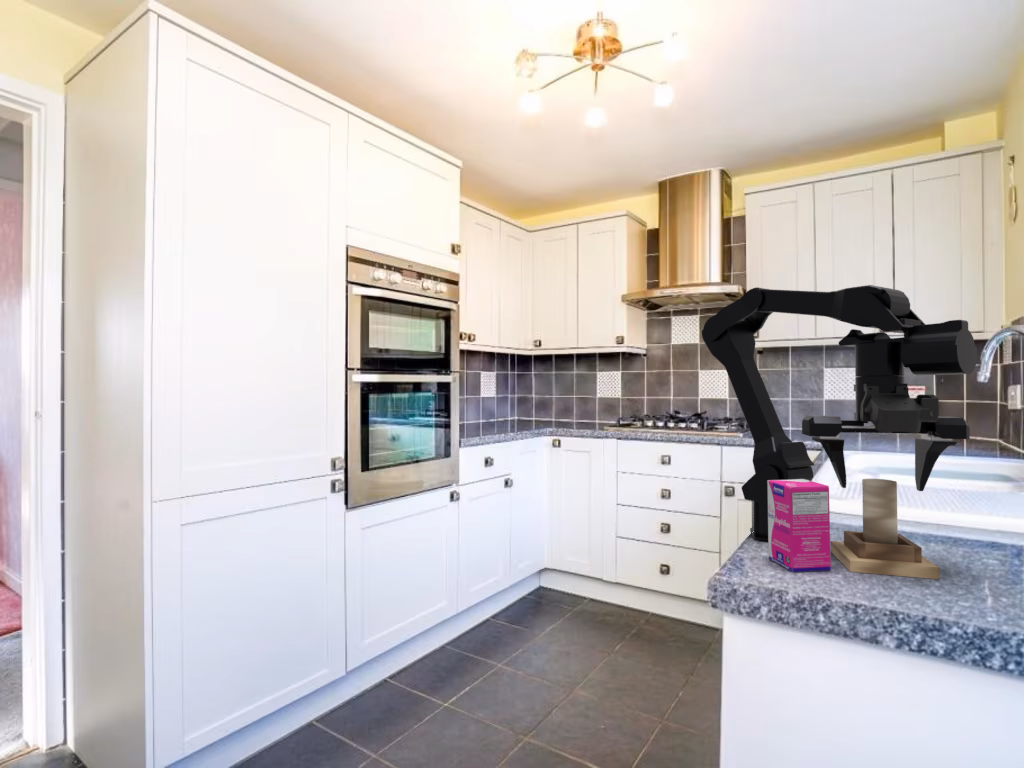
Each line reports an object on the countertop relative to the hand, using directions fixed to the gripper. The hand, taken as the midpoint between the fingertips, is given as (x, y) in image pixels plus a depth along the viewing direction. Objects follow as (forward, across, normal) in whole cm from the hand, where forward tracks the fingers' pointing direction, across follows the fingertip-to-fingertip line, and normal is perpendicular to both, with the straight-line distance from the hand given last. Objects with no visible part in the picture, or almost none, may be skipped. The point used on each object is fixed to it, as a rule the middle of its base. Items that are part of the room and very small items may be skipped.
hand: (881, 489), depth 77 cm
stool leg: (+9, 0, 0) cm, 9 cm away
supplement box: (+11, -11, -4) cm, 16 cm away
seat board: (+10, 0, 0) cm, 10 cm away
